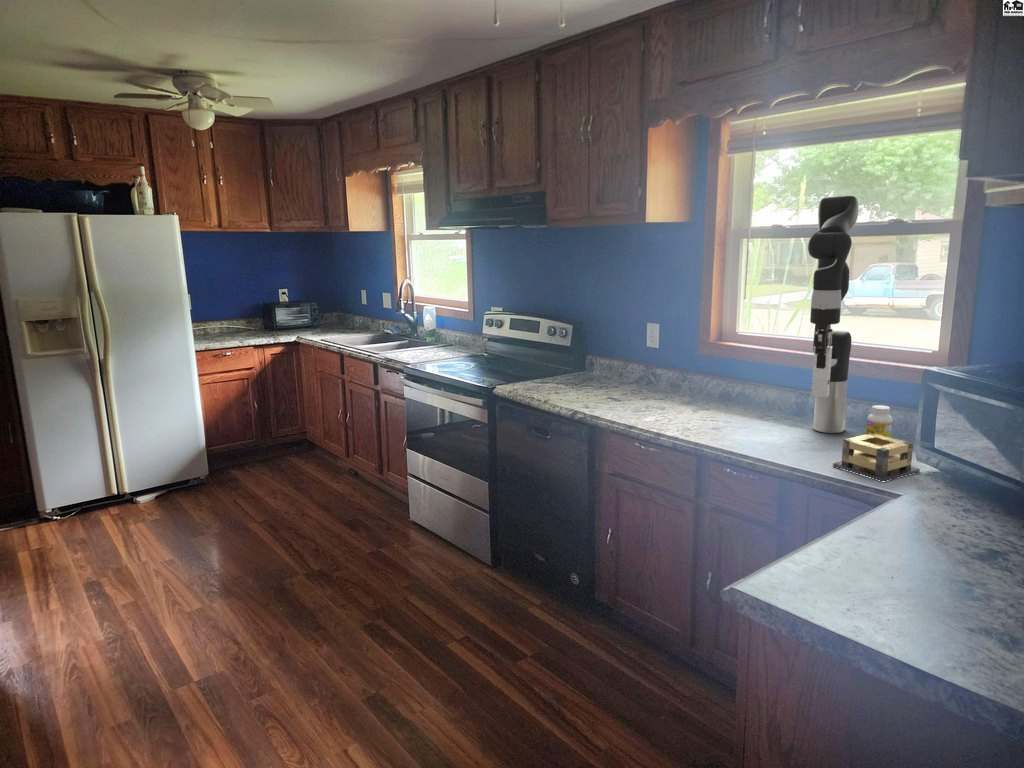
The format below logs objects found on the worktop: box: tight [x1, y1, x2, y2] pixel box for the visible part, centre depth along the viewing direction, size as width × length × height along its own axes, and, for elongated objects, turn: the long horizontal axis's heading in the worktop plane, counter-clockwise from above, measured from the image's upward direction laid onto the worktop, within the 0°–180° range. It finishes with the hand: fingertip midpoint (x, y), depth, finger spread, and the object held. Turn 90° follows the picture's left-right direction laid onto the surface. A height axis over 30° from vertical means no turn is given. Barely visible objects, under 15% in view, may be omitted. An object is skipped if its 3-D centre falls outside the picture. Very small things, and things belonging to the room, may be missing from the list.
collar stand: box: [832, 433, 921, 482], centre depth 180 cm, size 15×15×8 cm
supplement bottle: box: [865, 404, 894, 438], centre depth 198 cm, size 7×7×13 cm
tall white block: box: [810, 346, 832, 397], centre depth 187 cm, size 4×4×14 cm
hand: (822, 366), depth 187 cm, fingers closed on tall white block, 4 cm apart
